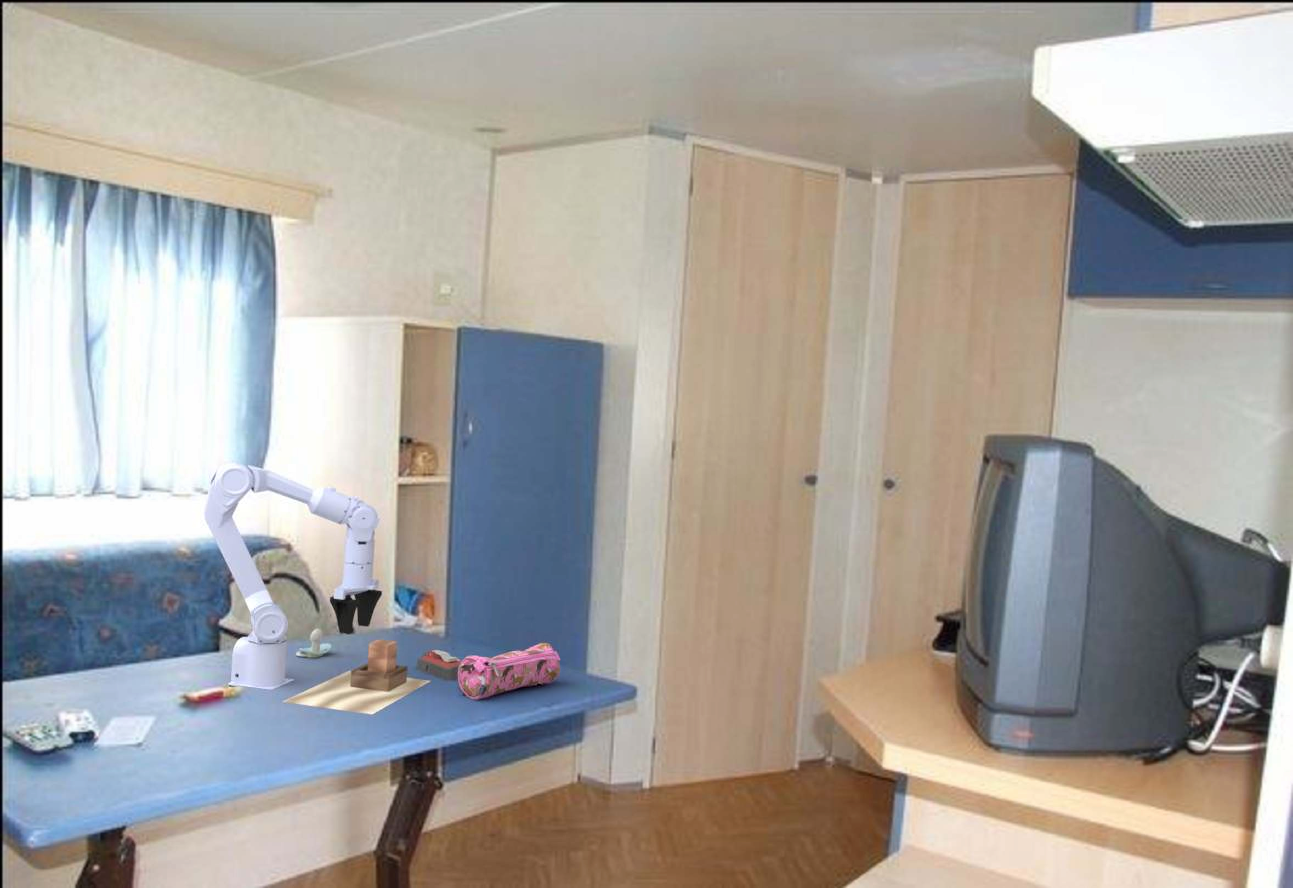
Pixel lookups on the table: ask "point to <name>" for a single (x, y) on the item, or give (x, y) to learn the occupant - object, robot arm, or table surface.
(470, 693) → the pencil case
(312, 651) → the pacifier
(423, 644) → the table surface
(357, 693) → the build mat
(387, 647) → the block
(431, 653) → the grey red box
